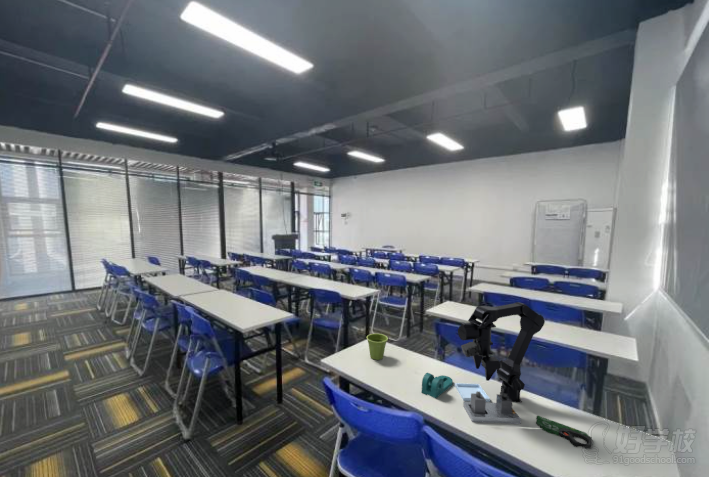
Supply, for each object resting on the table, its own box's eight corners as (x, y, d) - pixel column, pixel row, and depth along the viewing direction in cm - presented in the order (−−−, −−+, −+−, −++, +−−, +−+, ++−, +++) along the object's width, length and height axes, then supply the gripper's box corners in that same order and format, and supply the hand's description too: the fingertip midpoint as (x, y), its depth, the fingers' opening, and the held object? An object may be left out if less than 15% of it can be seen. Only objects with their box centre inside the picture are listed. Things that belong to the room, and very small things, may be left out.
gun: (534, 428, 102) (537, 413, 110) (534, 432, 102) (536, 417, 110) (593, 450, 92) (591, 433, 100) (592, 455, 92) (590, 437, 100)
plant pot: (361, 357, 155) (362, 337, 155) (374, 350, 164) (374, 331, 164) (379, 364, 148) (379, 343, 147) (391, 357, 157) (392, 337, 156)
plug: (480, 410, 111) (481, 389, 111) (484, 417, 107) (485, 395, 107) (470, 410, 111) (471, 389, 111) (474, 417, 107) (475, 395, 107)
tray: (478, 387, 129) (479, 383, 129) (490, 402, 117) (490, 398, 117) (454, 386, 129) (454, 382, 129) (463, 401, 118) (463, 397, 118)
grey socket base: (507, 409, 113) (508, 387, 113) (520, 424, 104) (521, 401, 104) (463, 407, 114) (464, 385, 114) (471, 423, 105) (472, 399, 105)
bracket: (435, 400, 119) (436, 382, 118) (421, 393, 124) (422, 375, 123) (455, 384, 131) (455, 367, 131) (441, 378, 136) (442, 362, 136)
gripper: (455, 329, 125) (454, 363, 126) (473, 347, 107) (472, 387, 107) (480, 329, 125) (479, 363, 126) (502, 347, 107) (501, 387, 107)
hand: (482, 374), depth 117 cm, fingers open, 9 cm apart
